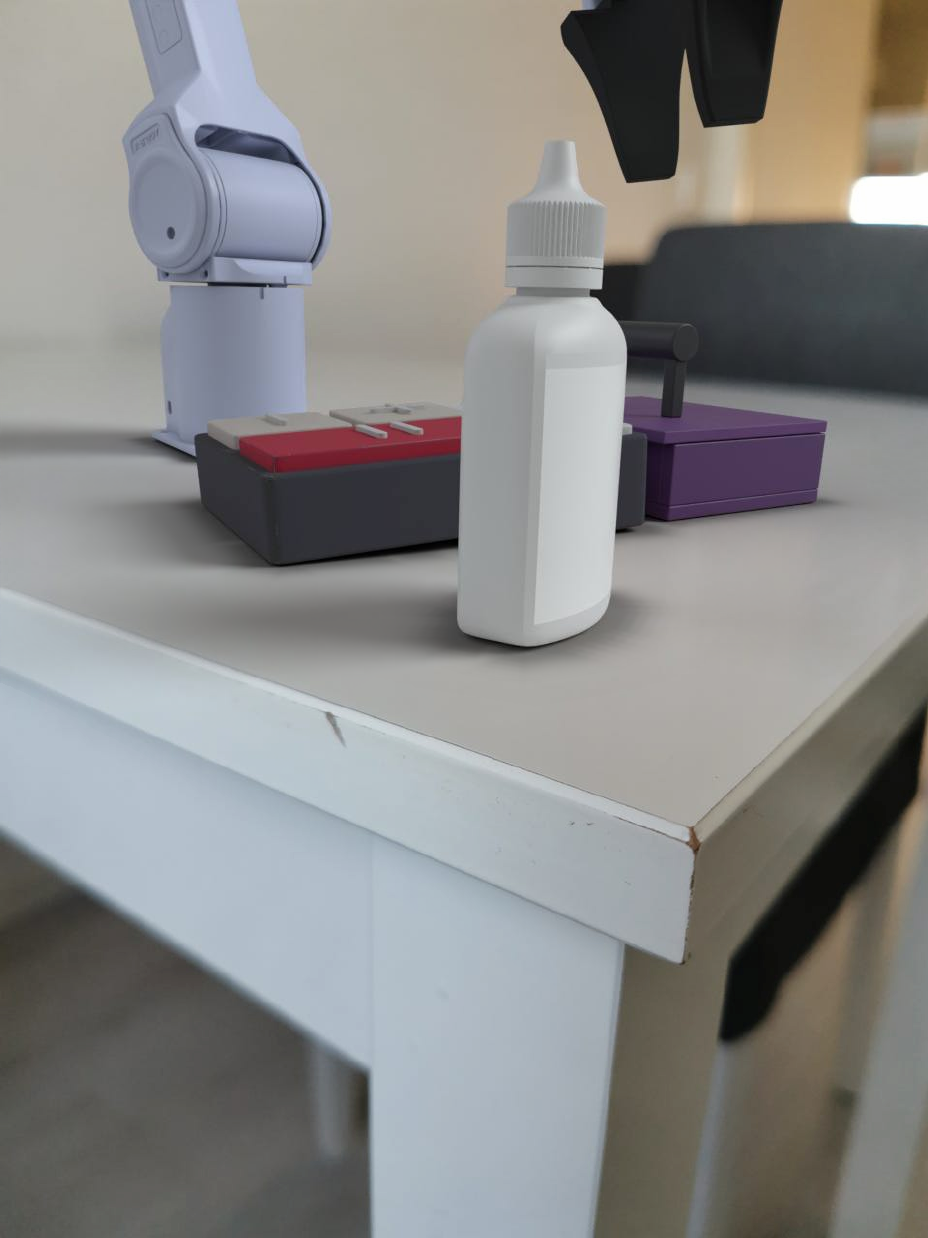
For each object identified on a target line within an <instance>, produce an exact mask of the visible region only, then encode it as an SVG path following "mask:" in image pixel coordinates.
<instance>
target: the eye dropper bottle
mask: <svg viewBox="0 0 928 1238" xmlns="http://www.w3.org/2000/svg"><path fill="white" fill-rule="evenodd" d="M538 171H539V172H538V175H537V180H536V183H534V186H533V188H532V189H531V190H530V191H529V192H528V193H527V194H526V195H523V196H521V197H520V198H518V199H516V200H514V201H511V202H510V203H509V204H508V206H507V208H506V209H507V212H506V213H507V214H506V239H505V265H504V266H505V269H504V288H515V289H516V291H515V294H513V295H508V296H507V297H506V298H505V299H504V300H503V302H502V303H501V304H499V305H498V306H497V307H495V308H494V309H492V310H491V311H490V312H488V313H487V314H486V315H485V316H484V317H483V318H482V319H481V320H480V321H479V322H478V324H477V325H476V326H475V327H474V329H473V331H472V333H470V336H469V339H468V341H467V345H466V347H465V354H464V361H463V375H462V376H463V379H462V380H463V383H462V398H461V399H462V401H461V403H462V429H461V466H460V505H459V538H458V553H457V555H458V557H457V558H458V559H457V593H456V594H457V600H456V607H457V608H456V619H457V625H458V628H459V629H460V630H461V631H462V633H464V634H467V635H470V636H472V637H475V638H479V639H484V640H489V641H493V642H499V643H503V644H508V645H513V646H520V647H537V646H543V645H548V644H550V643H551V644H552V643H555V642H558V641H562V640H565V639H569V638H571V637H573V636H576V635H579V634H580V633H583V632H585V631H587V630H588V629H590V628H591V627H592V626H594V625H595V624H596V623H597V622H599V621H600V620H601V619H602V618H603V616H604V615H605V613H606V612H607V609H608V607H609V603H610V600H611V593H612V583H613V582H612V581H613V569H614V567H613V566H614V555H615V540H616V539H615V538H616V530H615V527H616V514H617V500H618V486H619V472H620V458H621V444H622V429H623V415H624V400H625V397H626V383H627V382H626V381H627V365H628V364H627V363H628V362H627V361H628V357H627V347H626V340H625V336H624V334H623V331H622V329H621V327H620V325H619V324H618V322H617V321H618V320H617V319H616V318H615V316H614V315H613V314H612V313H611V312H610V311H608V310H607V308H605V307H604V306H603V304H602V303H601V300H599V299H598V298H597V297H593V296H591V295H590V292H591V290H603V276H604V262H605V261H604V260H605V245H606V227H607V214H608V208H607V207H606V206H605V204H604V203H602V202H600V201H598V200H597V199H595V198H594V197H591V196H590V195H589V194H588V193H586V191H585V190H584V188H583V185H582V184H581V182H580V175H579V166H578V159H577V151H576V142H575V141H571V140H564V139H563V140H561V139H559V140H557V139H556V140H555V139H554V140H548V141H545V144H544V149H543V153H542V157H541V162H540V167H539V170H538ZM616 320H617V321H616Z"/></svg>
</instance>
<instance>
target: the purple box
mask: <svg viewBox="0 0 928 1238" xmlns="http://www.w3.org/2000/svg"><path fill="white" fill-rule="evenodd" d="M825 441H826V433H825V432H820V433H806V434H793V435H779V436H766V437H752V438H739V439H726V440H712V441H699V442H685V443H672V444H661V443H655V442H650V441H647V463H646V490H645V513H644V515H645V516H649V517H654V518H657V519H660V520H664V521H675V520H676V521H677V520H684V519H693V518H700V517H708V516H716V515H722V514H724V515H725V514H730V513H739V512H745V511H753V510H761V509H762V510H763V509H769V508H775V507H776V508H777V507H785V506H792V505H802V504H807V503H816V502H817V500H818V493H819V485H820V479H821V478H820V477H821V470H822V463H823V455H824V449H825V443H826V442H825Z"/></svg>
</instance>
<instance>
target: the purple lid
mask: <svg viewBox="0 0 928 1238" xmlns="http://www.w3.org/2000/svg"><path fill="white" fill-rule="evenodd" d="M616 321H617V322H618V324H619V325H620V327H621V329H622V331H623V334H624V336H625V340H626V347H627V358H633V359H645V360H655V361H656V360H658V361H664V371H663V384H662V396H661V398H658V397H651V396H643V395H638V396H636V395H635V396H625V400H624V415H623V423H627V424H631V425H632V431H635V432H640V433H644V434H645V435H646V436H647V441H650V442H655V443H661V444H672V443H685V442H699V441H712V440H726V439H739V438H752V437H766V436H779V435H793V434H806V433H826V432H827V427H828V420H824V419H816V418H808V417H800V416H795V415H794V416H793V415H787V414H786V415H785V414H778V413H771V412H763V411H758V410H757V411H755V410H749V409H740V408H734V407H728V406H727V407H725V406H718V405H711V404H705V403H704V404H703V403H695V402H689V401H684V396H685V384H686V373H687V363H688V361H689V360H691V359H692V358H693V357H694V356H695V354H696V353H697V350H698V347H699V334H698V332H697V329H696V328H695V327H694V326H693V325H692V324H691V323H684V322H683V323H681V322H661V321H637V320H617V319H616Z"/></svg>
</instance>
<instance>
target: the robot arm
mask: <svg viewBox="0 0 928 1238" xmlns="http://www.w3.org/2000/svg"><path fill="white" fill-rule="evenodd" d="M783 2H784V0H581V5H582V9H576V10H575V9H574V10H570V11H569V13H568V14H567V16H566V17H565V18H564V20H563V21H562V22H561V24H560V28H559V29H560V36H561V40H562V44H563V46H564V47H565V48H566V50H567V51H568V52H569V53H570V55H571V56H572V57H573V58H574V61H575V62H576V63H577V66H579V68H580V70H581V72H582V73H583V75H584V77H585V78H586V80H587V82H588V84H589V86H590V88H591V90H592V92H593V94H594V97H595V98H596V101H597V104H598V106H599V109H600V111H601V114H602V116H603V120H604V123H605V125H606V128H607V132H608V136H609V138H610V141H611V143H612V147H613V150H614V153H615V156H616V159H617V162H618V165H619V168H620V170H621V173H622V176H623V178H624V181H625V183H626V184H635V183H644V182H645V183H646V182H655V181H656V182H657V181H666V180H670V179H671V178H673V177H674V176H676V172H677V167H678V162H679V152H680V119H681V118H680V112H681V111H680V105H681V104H680V102H681V101H680V99H681V82H682V71H683V65H684V58H685V54H686V61H687V67H688V73H689V79H690V83H691V84H690V85H691V89H692V94H693V99H694V103H695V106H696V111H697V114H698V117H699V119H700V122H701V124H702V127H703V129H708V128H719V127H730V126H743V125H752V124H756V123H758V122H760V121H761V120H762V119H764V116H765V112H766V108H767V103H768V97H769V92H770V91H769V90H770V84H771V79H772V71H773V66H774V65H773V63H774V56H775V51H776V43H777V37H778V30H779V25H780V19H781V14H782V9H783ZM128 4H129V8H130V11H131V12H130V13H131V16H132V20H133V23H134V27H135V30H136V34H137V38H138V41H139V42H138V43H139V46H140V49H141V53H142V57H143V60H144V64H145V69H146V72H147V77H148V80H149V83H150V87H151V91H152V95H153V99H152V100H151V101H150V102H149V103H147V105H145V106H144V107H143V108H142V109H141V110H140V111H139V113H138V114H136V116H135V117H134V119H133V120H132V121H131V123H130V124H129V126H128V128H127V129H126V131H125V132H124V134H123V135H122V138H121V143H122V147H123V150H124V154H125V158H126V162H127V169H128V177H129V178H128V183H129V184H128V185H129V186H128V187H129V189H128V213H129V221H130V223H131V228H132V230H133V235H134V237H135V240H136V241H137V245H138V246H139V248H140V250H141V251H142V253H143V255H144V256H145V257H146V259H148V261H149V262H150V263H151V264H152V265H153V266H155V267H156V277H157V279H156V280H157V281H158V282H169V283H170V282H171V283H190V284H207V285H182V284H181V285H177V284H176V285H171V284H170V285H169V296H170V297H169V298H170V305H169V306H168V307H167V309H166V311H165V313H164V315H163V318H162V321H161V324H160V333H159V338H160V339H159V341H160V353H161V356H160V357H161V368H162V382H163V397H164V409H165V410H164V411H165V424H166V428H153V429H150V437H151V438H153V439H155V440H156V441H157V440H158V441H160V442H162V443H164V444H166V445H169V446H171V447H173V448H175V449H177V450H179V451H182V452H184V453H186V454H189V455H190V456H193V457H195V458H196V452H195V443H194V437H195V435H197V434H201V433H208V431H207V421H210V420H219V419H231V418H243V417H254V416H265V414H268V413H273V414H276V415H278V414H290V413H302V412H308V396H307V395H308V394H307V362H306V361H307V359H306V358H307V357H306V322H305V289H304V288H295V287H288V286H312V285H313V271H315V269H316V268H318V266H319V265H320V264H321V262H322V261H323V260H324V257H325V255H326V253H327V251H328V248H329V245H330V242H331V237H332V228H333V213H332V206H331V202H330V201H331V200H330V197H329V194H328V192H327V189H326V187H325V185H324V183H323V181H322V179H321V177H320V176H319V175H318V174H317V173H316V171H314V169H313V167H312V166H311V165H310V162H309V160H308V158H307V156H306V153H305V150H304V146H303V142H302V138H301V134H300V132H299V130H298V129H297V128H296V127H295V126H294V124H293V123H292V122H291V121H290V119H288V117H287V116H286V115H285V114H284V113H283V112H282V111H281V110H280V109H279V108H278V107H277V106H276V105H275V103H274V102H273V101H271V99H270V98H269V97H268V96H267V95H266V94H265V92H264V91H263V90H262V89H261V88H260V87H259V84H258V80H257V76H256V73H255V68H254V65H253V61H252V57H251V53H250V48H249V44H248V40H247V36H246V32H245V29H244V24H243V21H242V17H241V12H240V9H239V5H238V1H237V0H128Z"/></svg>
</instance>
